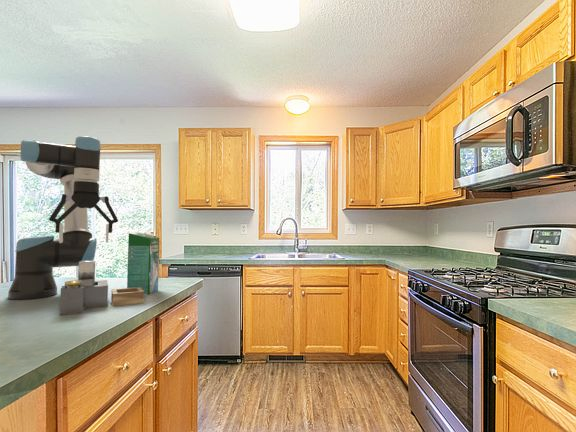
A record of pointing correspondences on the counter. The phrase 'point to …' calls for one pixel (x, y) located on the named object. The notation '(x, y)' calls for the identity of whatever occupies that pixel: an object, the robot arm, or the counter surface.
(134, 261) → the milk carton
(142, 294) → the tray
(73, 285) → the gold rounded cylinder
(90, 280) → the shiny silver rounded cylinder
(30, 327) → the counter surface
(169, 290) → the counter surface
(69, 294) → the socket block
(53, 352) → the counter surface
